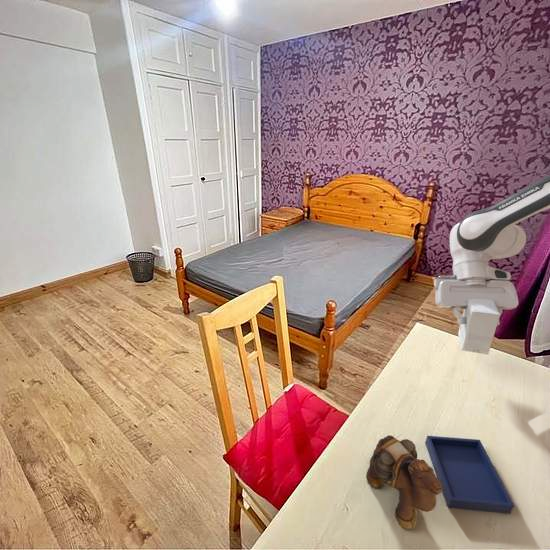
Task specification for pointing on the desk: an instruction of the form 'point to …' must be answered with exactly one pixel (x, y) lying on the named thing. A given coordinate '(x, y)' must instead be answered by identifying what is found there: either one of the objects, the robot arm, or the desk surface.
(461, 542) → the desk surface
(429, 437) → the tray
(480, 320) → the small box
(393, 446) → the figurine
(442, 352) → the desk surface
